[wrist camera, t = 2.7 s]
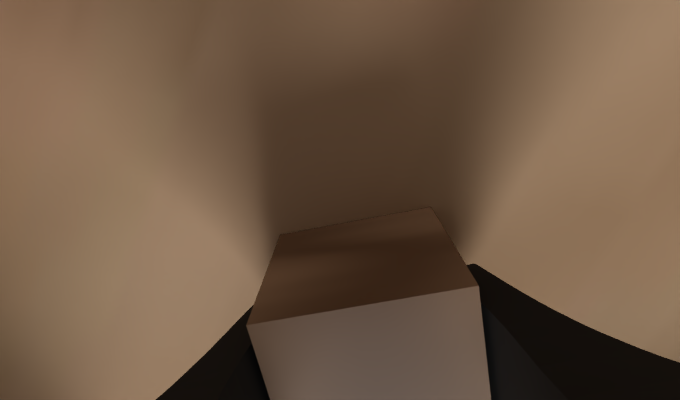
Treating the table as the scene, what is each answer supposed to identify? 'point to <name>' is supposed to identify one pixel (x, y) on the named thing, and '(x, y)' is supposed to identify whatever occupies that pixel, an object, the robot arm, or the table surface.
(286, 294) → the walnut cube
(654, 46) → the table surface
